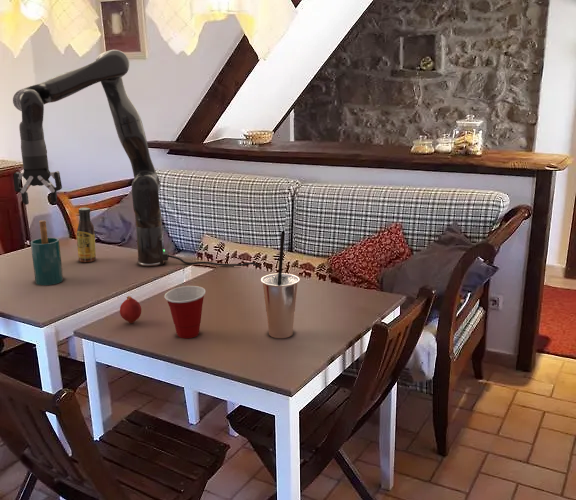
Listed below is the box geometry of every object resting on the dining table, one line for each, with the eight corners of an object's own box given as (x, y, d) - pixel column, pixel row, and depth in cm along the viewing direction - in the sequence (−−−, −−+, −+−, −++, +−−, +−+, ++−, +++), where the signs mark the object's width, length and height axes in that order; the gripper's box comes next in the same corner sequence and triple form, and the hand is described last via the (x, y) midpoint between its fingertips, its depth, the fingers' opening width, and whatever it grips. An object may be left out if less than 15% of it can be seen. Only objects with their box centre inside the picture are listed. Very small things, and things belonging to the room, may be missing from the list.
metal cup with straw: (284, 346, 162) (283, 232, 154) (252, 335, 169) (249, 225, 161) (310, 333, 170) (311, 224, 162) (279, 323, 177) (277, 218, 169)
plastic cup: (159, 333, 171) (156, 291, 168) (194, 323, 178) (192, 282, 174) (179, 346, 163) (176, 302, 160) (215, 335, 169) (213, 292, 166)
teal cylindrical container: (66, 276, 220) (61, 237, 216) (59, 284, 211) (55, 243, 207) (39, 277, 219) (34, 238, 215) (32, 285, 210) (27, 244, 207)
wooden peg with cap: (58, 276, 218) (52, 218, 212) (54, 280, 213) (48, 222, 207) (43, 276, 217) (36, 219, 212) (39, 281, 212) (32, 222, 207)
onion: (131, 317, 182) (129, 291, 180) (146, 321, 180) (144, 294, 177) (116, 324, 178) (114, 297, 175) (131, 328, 175) (129, 300, 173)
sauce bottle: (75, 262, 236) (70, 209, 230) (85, 257, 242) (80, 206, 236) (90, 263, 234) (85, 210, 229) (100, 259, 240) (95, 207, 234)
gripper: (7, 156, 199) (14, 207, 204) (54, 154, 200) (60, 205, 205) (14, 153, 206) (21, 202, 211) (60, 151, 208) (65, 201, 212)
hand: (40, 203), depth 208 cm, fingers open, 8 cm apart
